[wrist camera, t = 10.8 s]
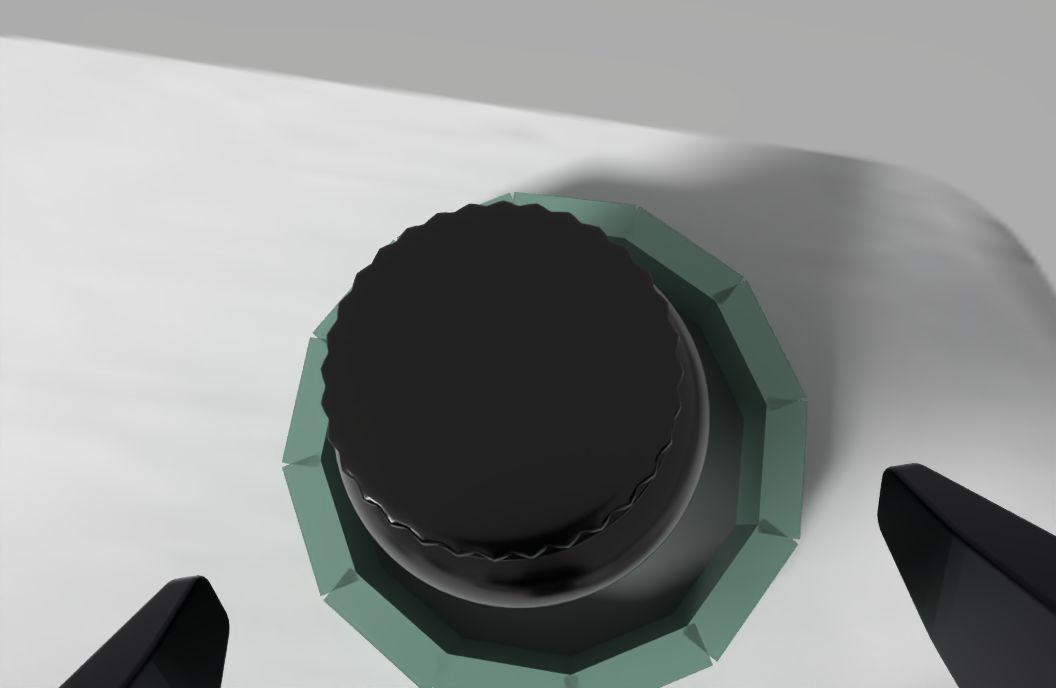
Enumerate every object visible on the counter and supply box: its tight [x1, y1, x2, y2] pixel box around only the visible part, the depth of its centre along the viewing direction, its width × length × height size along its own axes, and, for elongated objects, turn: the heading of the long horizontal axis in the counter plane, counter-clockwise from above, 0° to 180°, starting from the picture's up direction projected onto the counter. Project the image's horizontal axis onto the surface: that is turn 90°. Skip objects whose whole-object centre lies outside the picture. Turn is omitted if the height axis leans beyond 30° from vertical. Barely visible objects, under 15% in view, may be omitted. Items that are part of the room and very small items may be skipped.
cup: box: [282, 192, 807, 688], centre depth 20 cm, size 13×13×3 cm
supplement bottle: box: [320, 200, 710, 608], centre depth 15 cm, size 7×7×12 cm
